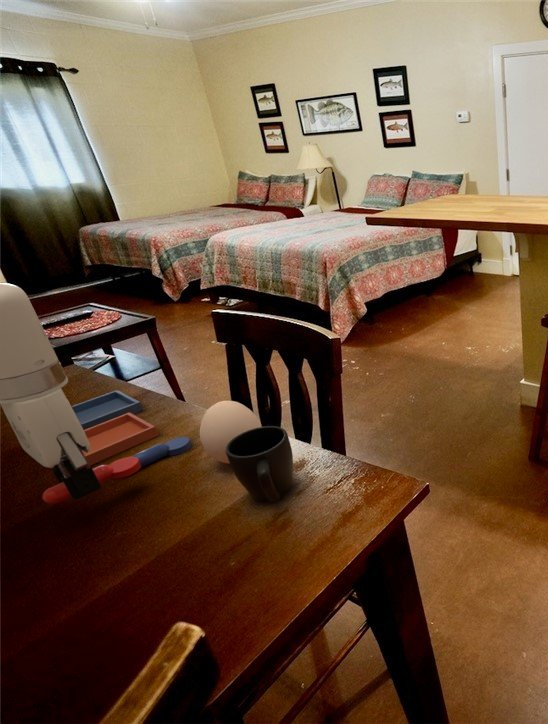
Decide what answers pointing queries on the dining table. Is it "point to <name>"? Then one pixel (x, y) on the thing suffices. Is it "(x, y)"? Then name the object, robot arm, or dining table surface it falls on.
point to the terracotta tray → (117, 436)
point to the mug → (262, 462)
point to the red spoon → (102, 473)
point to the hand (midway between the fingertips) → (82, 489)
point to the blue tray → (105, 408)
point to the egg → (225, 427)
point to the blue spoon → (163, 450)
